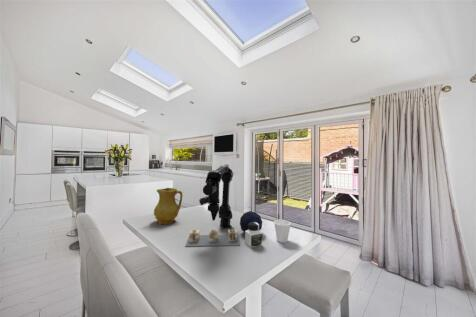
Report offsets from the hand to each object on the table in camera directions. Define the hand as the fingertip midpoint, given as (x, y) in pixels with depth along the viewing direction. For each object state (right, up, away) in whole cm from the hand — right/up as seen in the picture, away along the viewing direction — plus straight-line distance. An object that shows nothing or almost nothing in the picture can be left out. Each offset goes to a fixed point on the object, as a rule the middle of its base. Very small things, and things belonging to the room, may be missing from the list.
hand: (213, 218), depth 112 cm
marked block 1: (-11, -12, -1) cm, 17 cm away
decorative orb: (+22, -14, +12) cm, 29 cm away
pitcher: (-39, -12, +31) cm, 51 cm away
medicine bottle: (+23, -14, -3) cm, 27 cm away
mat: (0, -13, 0) cm, 13 cm away
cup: (+41, -14, +2) cm, 43 cm away
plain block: (0, -12, 0) cm, 12 cm away
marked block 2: (+11, -13, +1) cm, 17 cm away
